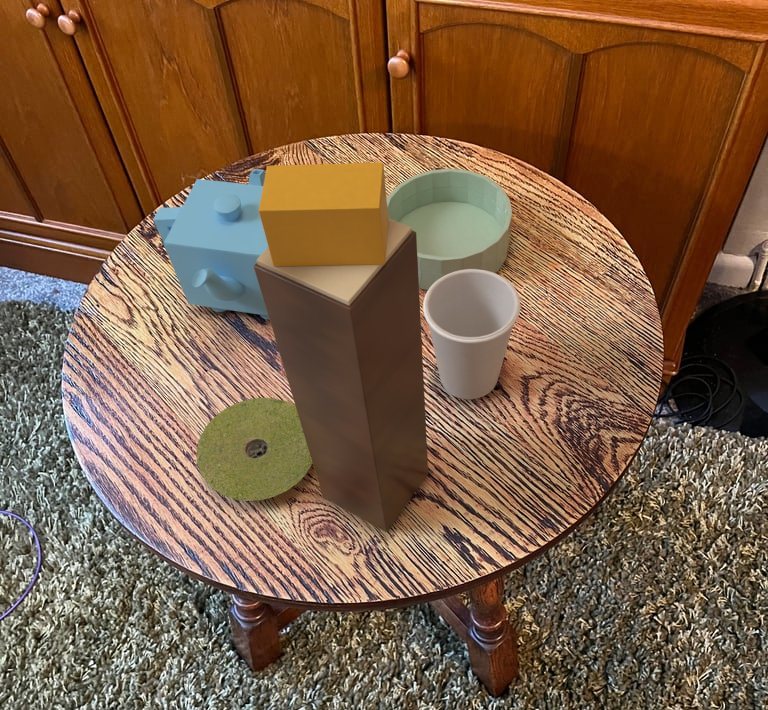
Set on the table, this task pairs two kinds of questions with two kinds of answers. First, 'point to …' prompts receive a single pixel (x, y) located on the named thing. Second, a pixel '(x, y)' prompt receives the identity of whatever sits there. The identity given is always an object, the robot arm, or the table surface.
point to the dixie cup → (470, 329)
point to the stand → (356, 373)
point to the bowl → (453, 221)
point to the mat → (254, 450)
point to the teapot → (217, 244)
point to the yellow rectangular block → (325, 214)
